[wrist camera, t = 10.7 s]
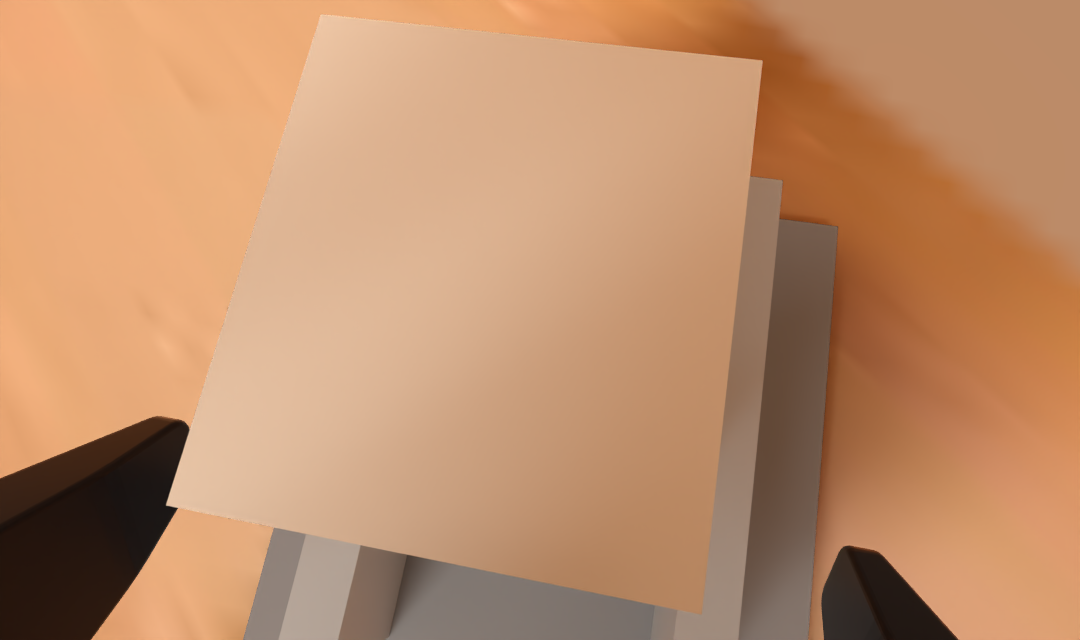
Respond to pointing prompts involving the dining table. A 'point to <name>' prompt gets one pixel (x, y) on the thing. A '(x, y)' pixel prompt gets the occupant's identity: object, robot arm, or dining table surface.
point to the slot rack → (738, 515)
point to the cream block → (489, 308)
